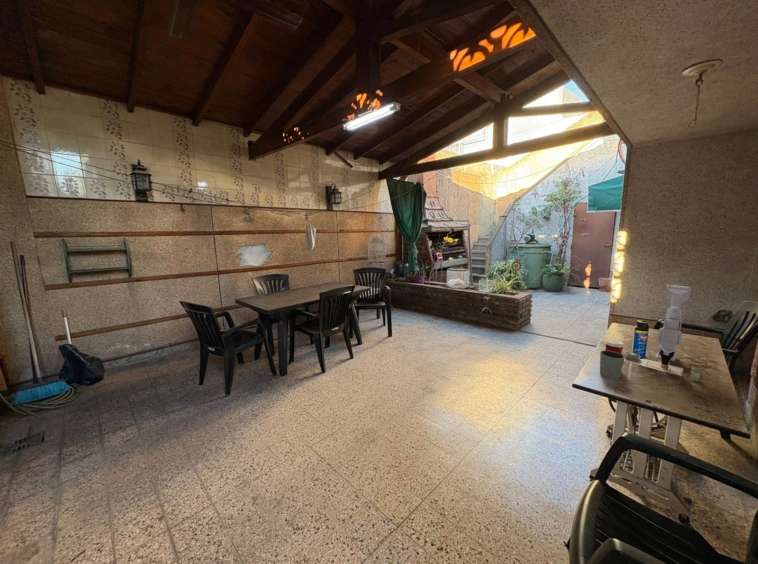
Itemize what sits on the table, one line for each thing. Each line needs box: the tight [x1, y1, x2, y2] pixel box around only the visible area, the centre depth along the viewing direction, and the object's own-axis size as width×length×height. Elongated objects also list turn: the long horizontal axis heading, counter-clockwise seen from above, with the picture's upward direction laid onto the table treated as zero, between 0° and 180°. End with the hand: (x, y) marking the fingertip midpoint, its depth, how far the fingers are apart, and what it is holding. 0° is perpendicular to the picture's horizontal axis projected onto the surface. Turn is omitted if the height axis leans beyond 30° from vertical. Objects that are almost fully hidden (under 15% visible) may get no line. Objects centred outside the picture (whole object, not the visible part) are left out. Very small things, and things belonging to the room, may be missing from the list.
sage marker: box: [689, 367, 702, 383], centre depth 147 cm, size 3×3×6 cm
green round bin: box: [599, 350, 626, 380], centre depth 153 cm, size 10×10×12 cm
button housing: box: [624, 352, 642, 363], centre depth 170 cm, size 6×6×2 cm
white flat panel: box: [624, 358, 684, 378], centre depth 164 cm, size 12×24×1 cm, turn 41°
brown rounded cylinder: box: [660, 360, 671, 369], centre depth 159 cm, size 3×3×6 cm
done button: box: [628, 352, 638, 358], centre depth 170 cm, size 4×4×2 cm
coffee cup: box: [604, 339, 625, 355], centre depth 161 cm, size 8×8×15 cm
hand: (665, 363), depth 159 cm, fingers closed on brown rounded cylinder, 3 cm apart
